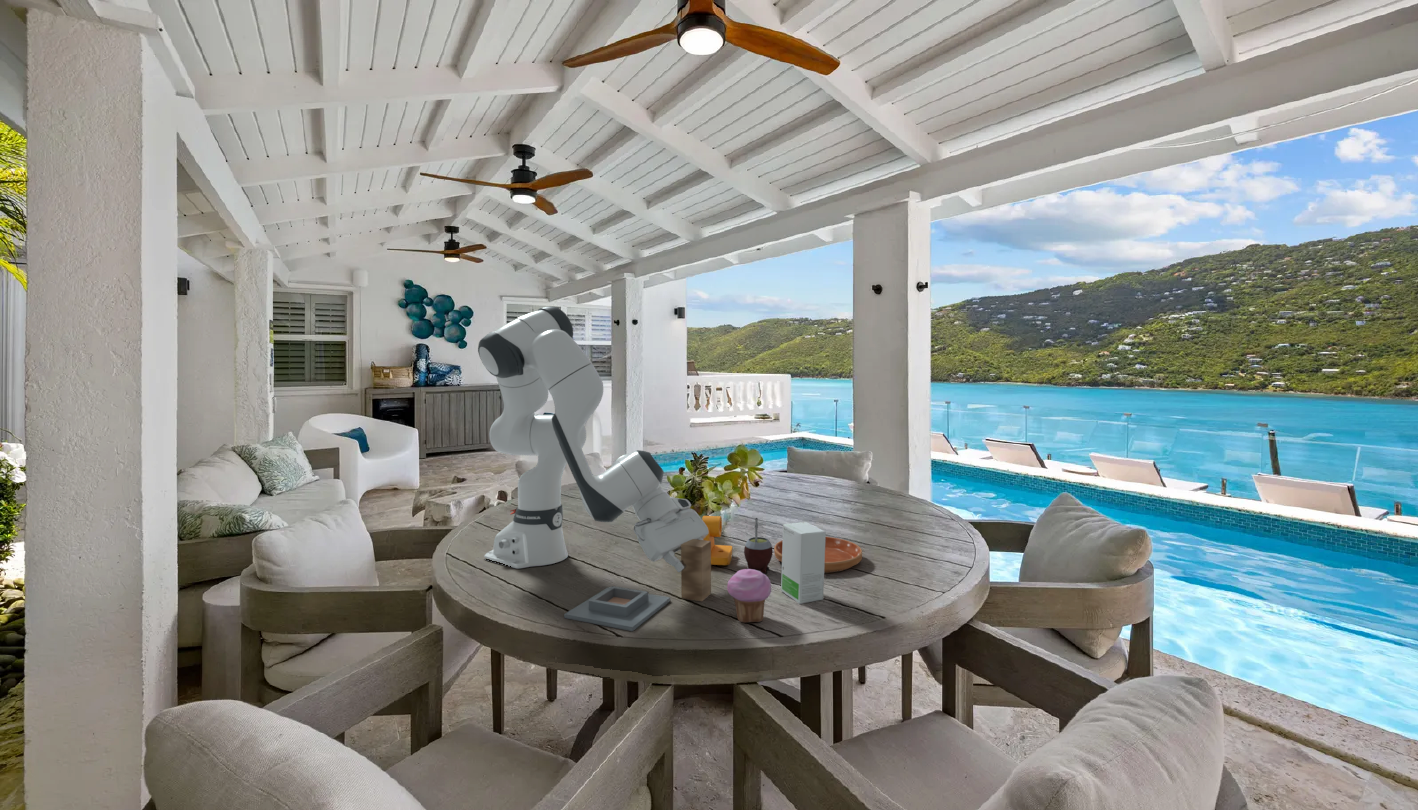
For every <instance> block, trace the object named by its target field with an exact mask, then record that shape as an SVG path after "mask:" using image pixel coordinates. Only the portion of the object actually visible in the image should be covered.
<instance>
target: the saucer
mask: <svg viewBox="0 0 1418 810" xmlns="http://www.w3.org/2000/svg"><path fill="white" fill-rule="evenodd" d="M782 541H783V539H782V540H780V541H778V542H776V543H775V545H774V551H773V553H774V556H775V559H777V560H778V561H780V562H781V563H782ZM862 560H863V550H862V548H861V547H860V546H859V545H858V544H856V543H854V542H852V541H849V540H846V539H843V538H842V539H841V538H837V537H832V536H826V537H825V563H824V574H825V573H838V572H841V571H846V570H848V569H851V568H852V567H854V566H856V565H858V564H859V563H860V562H861V561H862Z"/></svg>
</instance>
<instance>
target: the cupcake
mask: <svg viewBox="0 0 1418 810" xmlns="http://www.w3.org/2000/svg"><path fill="white" fill-rule="evenodd" d="M726 589H727V592H728V594H729V596H731V597H732V599H733V601H734V606H735V610H736V611H735V613H736V617H737V620H738V621H739V622H740V623H760V622H763V619H764V614H765V612H764V611H765V604H766V600H767V599H768V598H769V597H770V595H771V593H772V583H771V579H769V576H767V575H765V574H763V573H762V572H760V571H757V570H753V569H748V568H743V569H740V570H737V571H736V572H735V573H734V574H733V575H732V576H731V577H730V578H729V580H728V581H727V588H726Z"/></svg>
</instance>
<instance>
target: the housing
mask: <svg viewBox="0 0 1418 810" xmlns="http://www.w3.org/2000/svg"><path fill="white" fill-rule="evenodd" d="M670 602H671V597H670V596H664V595H657V594H650V593H649V591H646V590H641V589H640V590H638V589H632V588H627V587H623V586H622V587H621V586H615V585H611V586H610V587H609V586H608V587H606V588H604V589H603V590H601V591H600V592H598V593H596V594H595V595H593V596H592V597H589V598H588V599H587V600H585V601H584V602H582V603H580V604H578V605H576V606H575V607H574V608H572V609H570V610H569V611H567V612H565V613H564V619H568V620H573V621H579V622H584V623H589V624H593V625H599V626H603V627H604V626H605V627H609V628H613V629H620V630H624V631H629V632H634V630H636V629H637V628H638V627H640V626H641V625H642V624H644V623H645V622H646V621H647V620H649V619H650V618H651V617H652V616H653V615H654V614H656V613H657V612H659V611H660V610H661V609H662V608H663V607H665V606H666V605H667V604H669V603H670Z"/></svg>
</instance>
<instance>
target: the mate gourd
mask: <svg viewBox="0 0 1418 810" xmlns="http://www.w3.org/2000/svg"><path fill="white" fill-rule="evenodd" d="M758 520H759V518H758V517H755V521H754V522H755V523H754V530H755V531H754V533H755V534H754V537H753V536H752V537H750V538H748V539H747V540H746V542H745V544H744V549H743V554H744V559H745V560H746V564H747V569H753V570H757V571H760V572H762V573H763V574H765V575H766V576H767V575H768V572H767V570H769V569H770V567H768V566H769V565H770V563H771V561H772V558H773V553H774V551H773V545H772V542H771V541H770V540H769V539H768V538H766V537H761V536H758V528H759V524H758V523H759V521H758Z"/></svg>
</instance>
